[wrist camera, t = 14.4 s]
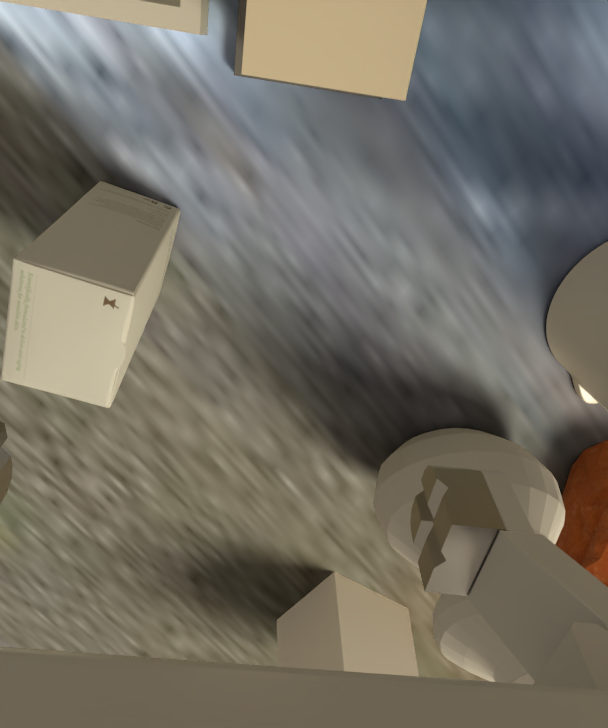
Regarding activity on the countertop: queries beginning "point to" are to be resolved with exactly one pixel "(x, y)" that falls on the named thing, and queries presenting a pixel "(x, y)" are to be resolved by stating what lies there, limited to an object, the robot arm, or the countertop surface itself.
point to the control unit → (331, 44)
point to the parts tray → (136, 11)
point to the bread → (587, 512)
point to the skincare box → (87, 294)
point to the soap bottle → (393, 511)
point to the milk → (347, 631)
